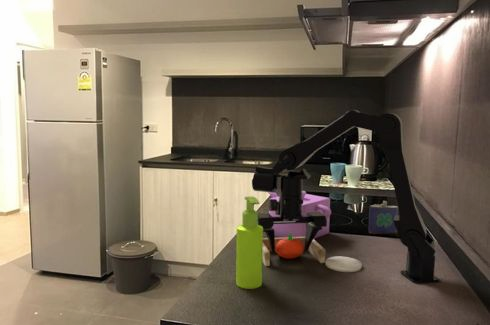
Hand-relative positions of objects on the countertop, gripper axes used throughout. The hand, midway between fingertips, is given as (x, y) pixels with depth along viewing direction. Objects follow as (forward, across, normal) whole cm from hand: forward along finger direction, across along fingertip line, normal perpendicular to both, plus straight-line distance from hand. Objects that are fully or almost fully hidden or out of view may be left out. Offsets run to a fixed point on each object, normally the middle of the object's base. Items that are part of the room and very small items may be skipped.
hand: (289, 251), depth 112 cm
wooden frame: (+2, 0, 0) cm, 2 cm away
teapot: (+2, -9, -22) cm, 23 cm away
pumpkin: (+2, 0, 0) cm, 2 cm away
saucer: (+2, -12, +8) cm, 14 cm away
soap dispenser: (+2, +14, +16) cm, 21 cm away
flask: (+2, -37, -18) cm, 41 cm away
